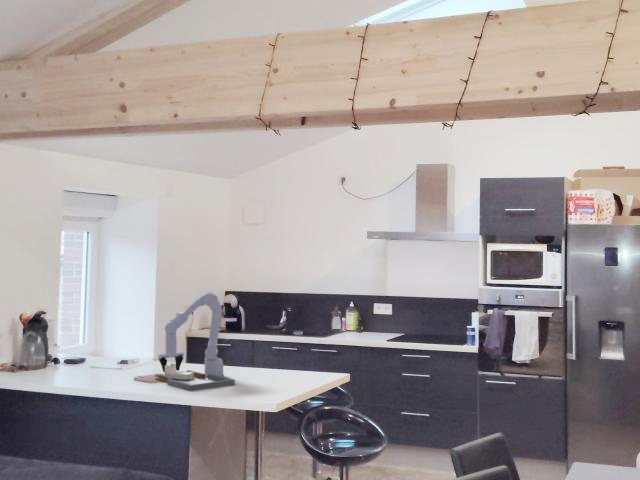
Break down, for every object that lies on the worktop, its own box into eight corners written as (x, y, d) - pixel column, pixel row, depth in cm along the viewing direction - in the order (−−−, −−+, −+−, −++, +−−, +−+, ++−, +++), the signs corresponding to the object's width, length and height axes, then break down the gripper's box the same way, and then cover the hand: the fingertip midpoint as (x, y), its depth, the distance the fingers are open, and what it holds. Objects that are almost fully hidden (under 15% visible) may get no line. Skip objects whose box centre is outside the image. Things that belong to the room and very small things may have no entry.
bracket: (164, 380, 393) (164, 365, 393) (171, 377, 400) (171, 363, 400) (187, 381, 389) (187, 366, 389) (193, 379, 396) (193, 364, 396)
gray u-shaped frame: (210, 378, 396) (210, 373, 396) (234, 384, 378) (234, 379, 378) (167, 384, 379) (167, 379, 379) (190, 390, 362) (190, 385, 362)
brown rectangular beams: (189, 374, 407) (189, 370, 407) (205, 378, 395) (205, 374, 395) (155, 379, 394) (155, 374, 394) (170, 383, 382) (170, 378, 382)
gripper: (179, 343, 410) (179, 368, 409) (155, 345, 400) (155, 371, 400) (186, 344, 404) (186, 370, 404) (161, 347, 395) (161, 373, 395)
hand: (171, 371), depth 402 cm, fingers open, 7 cm apart
